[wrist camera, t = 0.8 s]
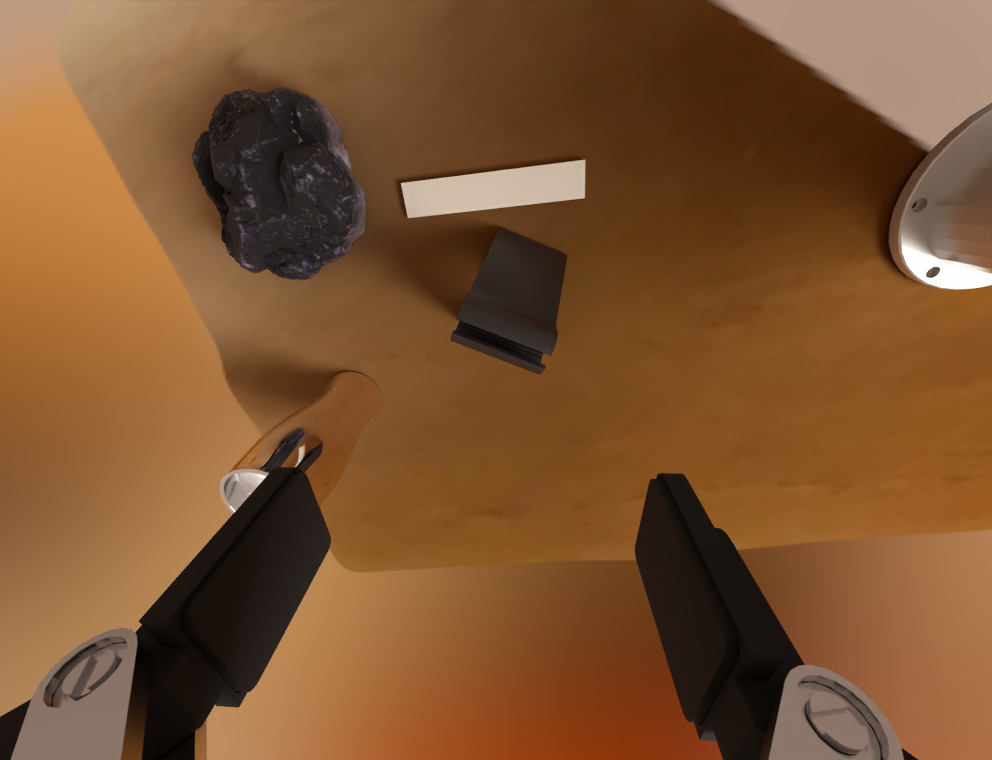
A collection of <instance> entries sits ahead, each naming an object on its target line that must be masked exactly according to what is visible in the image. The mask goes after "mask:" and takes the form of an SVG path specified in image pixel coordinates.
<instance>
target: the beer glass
mask: <svg viewBox="0 0 992 760" xmlns="http://www.w3.org/2000/svg"><path fill="white" fill-rule="evenodd" d="M382 405H383V397H382V394H381V391H380V389H379V388H378V386H377V385H376V384H375V383H374V382H373V381H372V380H371V379H370V378H368V377H367V376H365V375H363V374H360V373H357V372H351V371H346V372H341V373H339V374H337V375H335V376H334V377H333V378H332V379H331V380H330V381H329V383H328V384H327V386H326V388H325V390H324V391H323V392H322V394H321V395H320V396H319V397H318V398H317V399H315V400H314V401H312V402H311V403H309V404H308V405H306V406H304V407H303V408H301V409H299V410H298V411H296V412H294V413H293V414H291V415H290V416H288V417H286V418H285V419H283V420H282V421H281V422H279V423H278V424H276V425H275V426H274V427H272V428H271V429H270V430H269V431H268V432H267V433H265V434H264V435H263V436H262V437H261V438H260V439H259V440H258V441H257V442H256V443H255V444H254V445H253V446H252V447H251V448H250V449H249V450H248V451H247V452H246V453H245V454H244V455H243V457H241V458H240V460H239V461H238V462H237V463H236V464H235V465H234V466H233V468H232V469H231V470H230V471H229V472H228V473H227V474H225V475H224V476H223V478H222V479H221V481H220V484H219V492H220V496H221V498H222V500H223V502H224V504H225V505H226V507H227V508H228V509H229V510H230V511H231V512H232V513H233V514H234V513H235V511H236V510H237V509H238V508H239V507H240V506H241V505H242V503H243V502H244V501H245V500H246V499H247V498H248V497H249V496H250V494H251V493H252V492H253V491H254V490H255V489H256V488H257V487H258V485H259V484H260V483H261V482H262V481H263V480H264V479H265V477H266V476H267V475H268V474H269V473H270V472H271V471H272V470H273V469H274V468H277V467H296V468H300V469H301V470H302V472H303V473H305V474H306V475H307V476H308V479H309V482H310V484H311V487H312V489H313V492H314V495H315V497H316V500H317V502H318V505H319V507H320V505H321V504H322V503H323V502H324V500H325V499H326V498H327V497H328V495H329V494H330V492H331V491H332V490H333V488H334V487H335V485H336V484H337V482H338V481H339V479H340V477H341V476H342V474H343V473H344V471H345V468H346V466H347V464H348V462H349V460H350V458H351V455H352V453H353V450H354V448H355V445H356V443H357V440H358V438H359V436H360V433H361V431H362V430H363V428H364V427H365V426H366V424H367V423H368V422H370V421H371V420H372V419H373V418H374V417H375V416H377V415H378V413H379V412H380V411H381V409H382Z"/></svg>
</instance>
